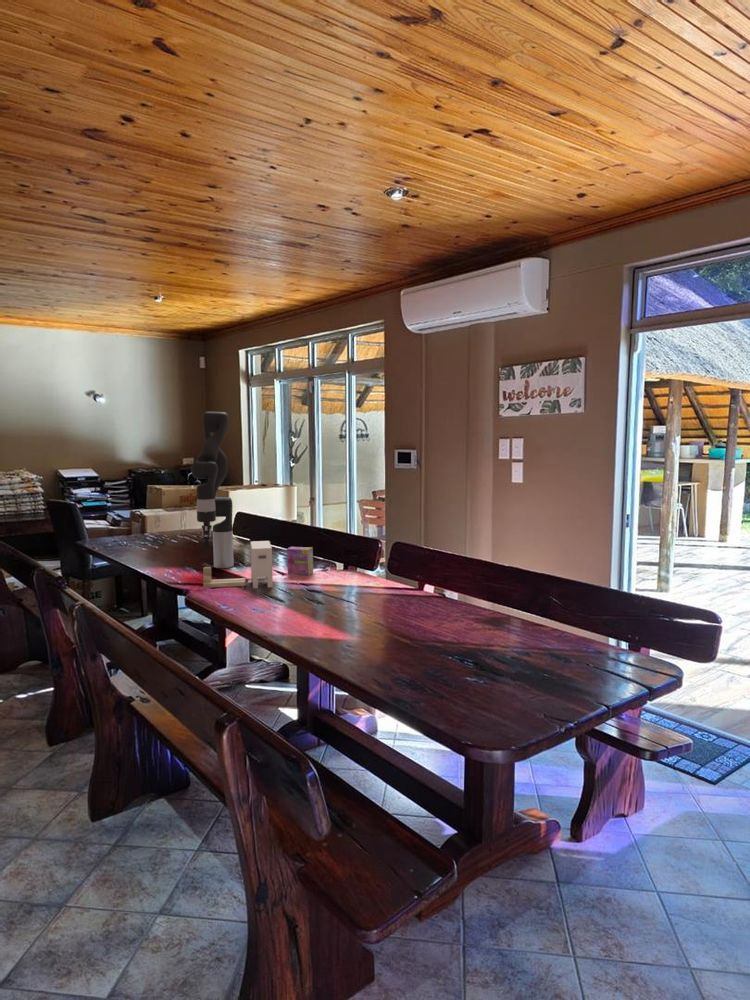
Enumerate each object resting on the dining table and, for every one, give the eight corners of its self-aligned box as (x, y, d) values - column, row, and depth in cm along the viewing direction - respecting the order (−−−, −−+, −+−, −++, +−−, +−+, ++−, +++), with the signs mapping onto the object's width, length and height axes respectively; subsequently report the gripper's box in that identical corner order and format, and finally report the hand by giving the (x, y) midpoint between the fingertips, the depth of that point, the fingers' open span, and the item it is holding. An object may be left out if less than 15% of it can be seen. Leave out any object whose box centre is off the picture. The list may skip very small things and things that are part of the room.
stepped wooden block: (204, 584, 271) (204, 566, 270) (245, 582, 274) (244, 564, 274) (203, 588, 264) (202, 569, 263) (245, 586, 268) (244, 567, 267)
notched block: (251, 578, 280) (250, 541, 278) (269, 577, 282) (269, 540, 280) (253, 588, 262) (252, 549, 260) (272, 587, 264) (271, 548, 262)
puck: (255, 582, 274) (255, 577, 274) (267, 581, 275) (267, 577, 275) (256, 585, 269) (256, 580, 269) (268, 584, 270) (267, 579, 270)
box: (287, 574, 289) (286, 548, 287) (292, 571, 294) (292, 546, 293) (308, 575, 286) (308, 549, 284) (313, 572, 291) (313, 547, 290)
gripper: (197, 508, 270) (198, 546, 272) (195, 512, 256) (197, 552, 258) (215, 507, 272) (216, 545, 273) (215, 511, 258) (216, 551, 260)
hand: (207, 548), depth 266 cm, fingers open, 8 cm apart
